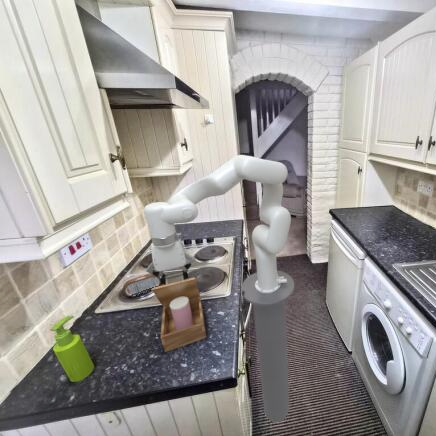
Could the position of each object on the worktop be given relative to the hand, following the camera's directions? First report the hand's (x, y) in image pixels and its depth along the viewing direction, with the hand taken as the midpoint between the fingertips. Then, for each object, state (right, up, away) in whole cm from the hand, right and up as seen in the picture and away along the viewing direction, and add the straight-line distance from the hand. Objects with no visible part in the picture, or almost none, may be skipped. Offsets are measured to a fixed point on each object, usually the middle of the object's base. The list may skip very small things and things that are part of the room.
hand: (175, 281), depth 84 cm
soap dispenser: (-24, -26, -11) cm, 37 cm away
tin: (-27, -12, +24) cm, 38 cm away
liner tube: (+2, -18, +3) cm, 19 cm away
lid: (0, -5, +1) cm, 5 cm away
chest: (+2, -19, +4) cm, 19 cm away
